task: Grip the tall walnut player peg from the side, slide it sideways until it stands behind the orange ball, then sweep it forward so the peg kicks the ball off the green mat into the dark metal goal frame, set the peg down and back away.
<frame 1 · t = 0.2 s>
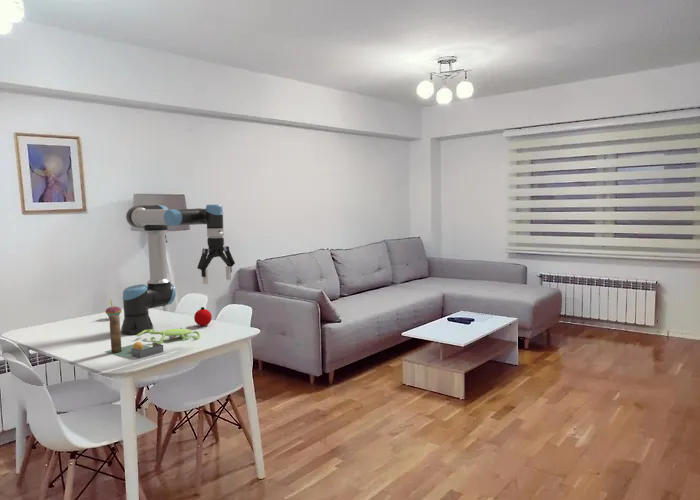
hand: (217, 281, 241), 28 cm above the table, tool pointing down, fingers open, 13 cm apart
goal: (147, 355, 218), on the table
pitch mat: (131, 352, 224), on the table
player peg: (116, 351, 221), point 1 cm above the table, touching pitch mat
ball: (138, 346, 222), point 3 cm above the table, touching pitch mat
figurine: (168, 341, 244), on the table
cupcake: (113, 319, 292), on the table
ornament: (203, 326, 271), on the table
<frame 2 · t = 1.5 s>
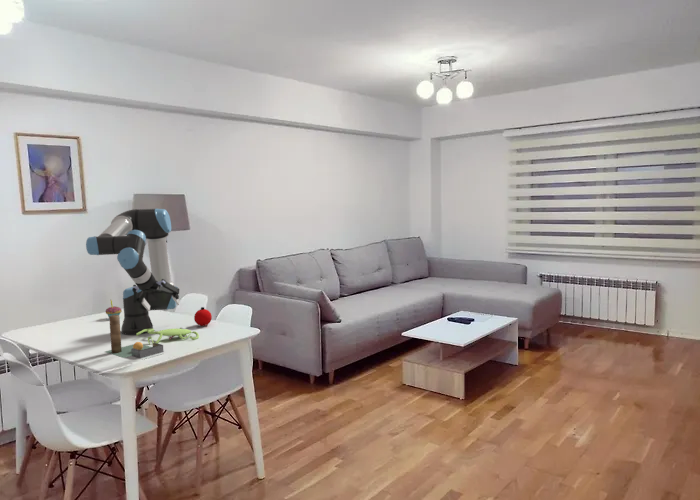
hand: (164, 305, 227), 20 cm above the table, tool tilted 45°, fingers open, 13 cm apart
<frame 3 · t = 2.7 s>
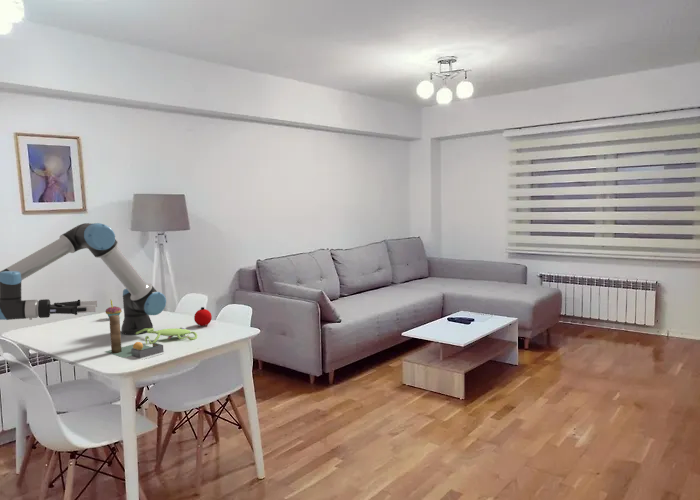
hand: (96, 306, 217), 22 cm above the table, tool horizontal, fingers open, 13 cm apart
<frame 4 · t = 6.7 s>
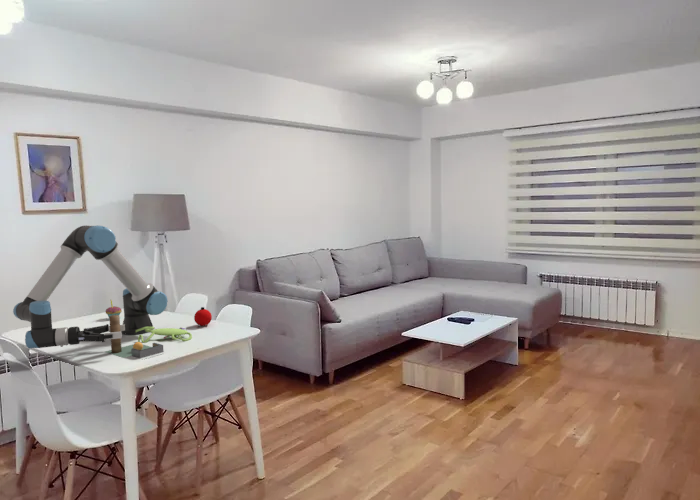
hand: (123, 331, 222), 10 cm above the table, tool horizontal, fingers open, 13 cm apart
figurine: (162, 339, 246), on the table
everything else where it was.
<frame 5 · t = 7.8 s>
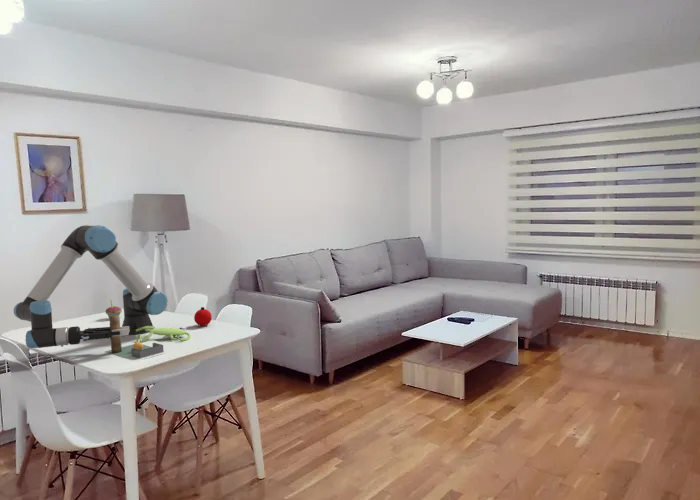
hand: (128, 330, 222), 10 cm above the table, tool horizontal, fingers closed on player peg, 4 cm apart
player peg: (116, 351, 221), point 1 cm above the table, touching gripper
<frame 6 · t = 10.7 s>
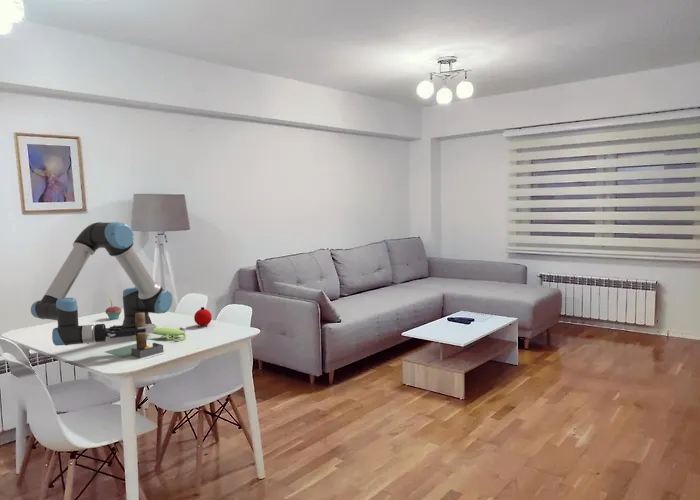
hand: (154, 328, 221), 11 cm above the table, tool horizontal, fingers closed on player peg, 4 cm apart
player peg: (141, 349, 220), point 2 cm above the table, touching gripper
ball: (148, 351, 218), point 2 cm above the table, tilted 150°
figurine: (160, 338, 248), on the table
everything else where it was.
when the fingers open (11 cm above the table, at t = 12.2 s): player peg stays where it is, resting on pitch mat.
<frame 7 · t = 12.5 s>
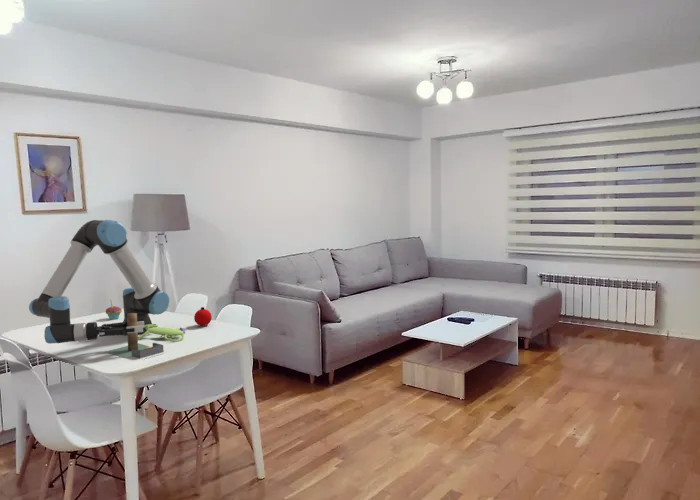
hand: (143, 326, 225), 11 cm above the table, tool horizontal, fingers open, 8 cm apart
player peg: (132, 349, 224), point 1 cm above the table, touching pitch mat
ball: (149, 351, 218), point 2 cm above the table, tilted 134°
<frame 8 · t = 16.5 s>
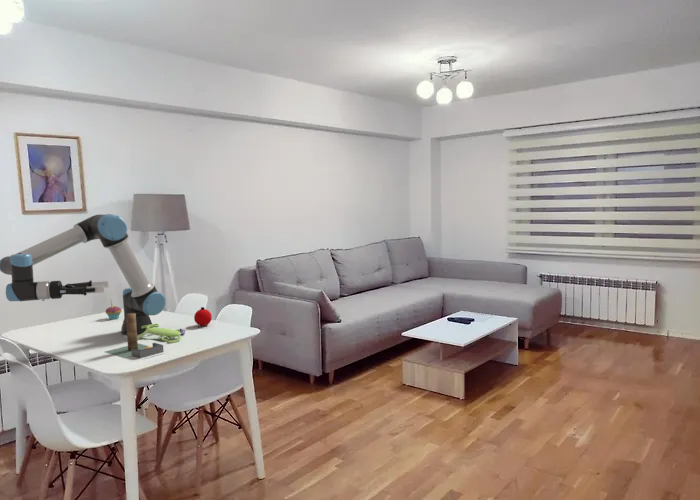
hand: (106, 286, 219), 30 cm above the table, tool horizontal, fingers open, 13 cm apart
ball: (148, 351, 218), point 2 cm above the table, tilted 142°
at the end: ball inside the target area on the goal (0.8 cm from its centre), point 2.0 cm above the goal's base; the gripper is holding nothing; player peg tilted 0° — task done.
